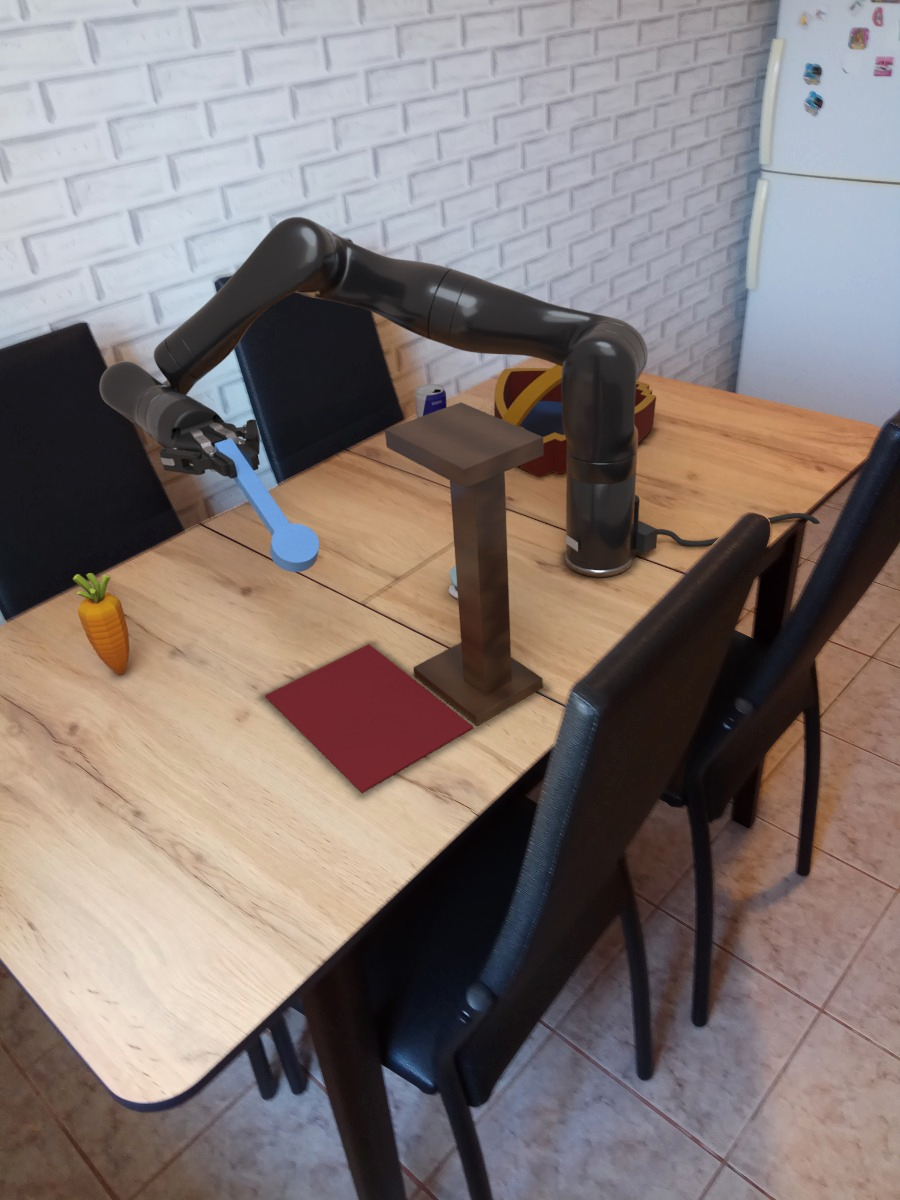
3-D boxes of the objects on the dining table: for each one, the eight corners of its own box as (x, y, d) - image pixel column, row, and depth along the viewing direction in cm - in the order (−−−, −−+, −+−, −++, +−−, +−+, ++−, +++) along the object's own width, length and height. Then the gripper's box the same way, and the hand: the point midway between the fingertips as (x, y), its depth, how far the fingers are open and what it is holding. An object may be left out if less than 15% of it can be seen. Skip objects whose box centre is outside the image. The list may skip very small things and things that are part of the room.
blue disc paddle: (242, 441, 113) (243, 430, 112) (326, 561, 107) (328, 551, 105) (202, 455, 111) (202, 444, 109) (285, 579, 104) (286, 569, 103)
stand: (475, 641, 117) (460, 402, 100) (545, 690, 109) (543, 436, 91) (411, 674, 113) (384, 429, 95) (479, 728, 104) (463, 469, 86)
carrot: (149, 665, 118) (118, 564, 109) (126, 689, 114) (92, 587, 105) (117, 659, 119) (84, 559, 111) (92, 683, 115) (56, 581, 107)
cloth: (369, 645, 118) (369, 643, 118) (473, 728, 104) (473, 726, 104) (265, 697, 111) (264, 695, 111) (361, 793, 97) (361, 791, 96)
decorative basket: (556, 504, 151) (568, 422, 141) (437, 432, 167) (440, 354, 157) (682, 440, 169) (700, 363, 159) (564, 381, 185) (574, 308, 175)
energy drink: (446, 461, 162) (441, 395, 155) (416, 460, 163) (410, 395, 156) (452, 448, 166) (448, 383, 159) (423, 447, 167) (418, 383, 160)
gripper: (125, 415, 115) (181, 455, 103) (226, 384, 122) (290, 418, 110) (141, 470, 119) (197, 515, 107) (238, 437, 126) (301, 476, 114)
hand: (244, 466), depth 109 cm, fingers closed on blue disc paddle, 2 cm apart
